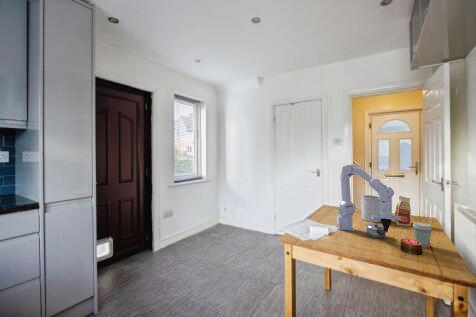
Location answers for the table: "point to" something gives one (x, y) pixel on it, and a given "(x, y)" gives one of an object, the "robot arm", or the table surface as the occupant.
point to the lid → (376, 228)
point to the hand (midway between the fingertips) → (385, 231)
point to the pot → (375, 234)
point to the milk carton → (403, 211)
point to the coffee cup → (422, 233)
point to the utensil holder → (370, 207)
